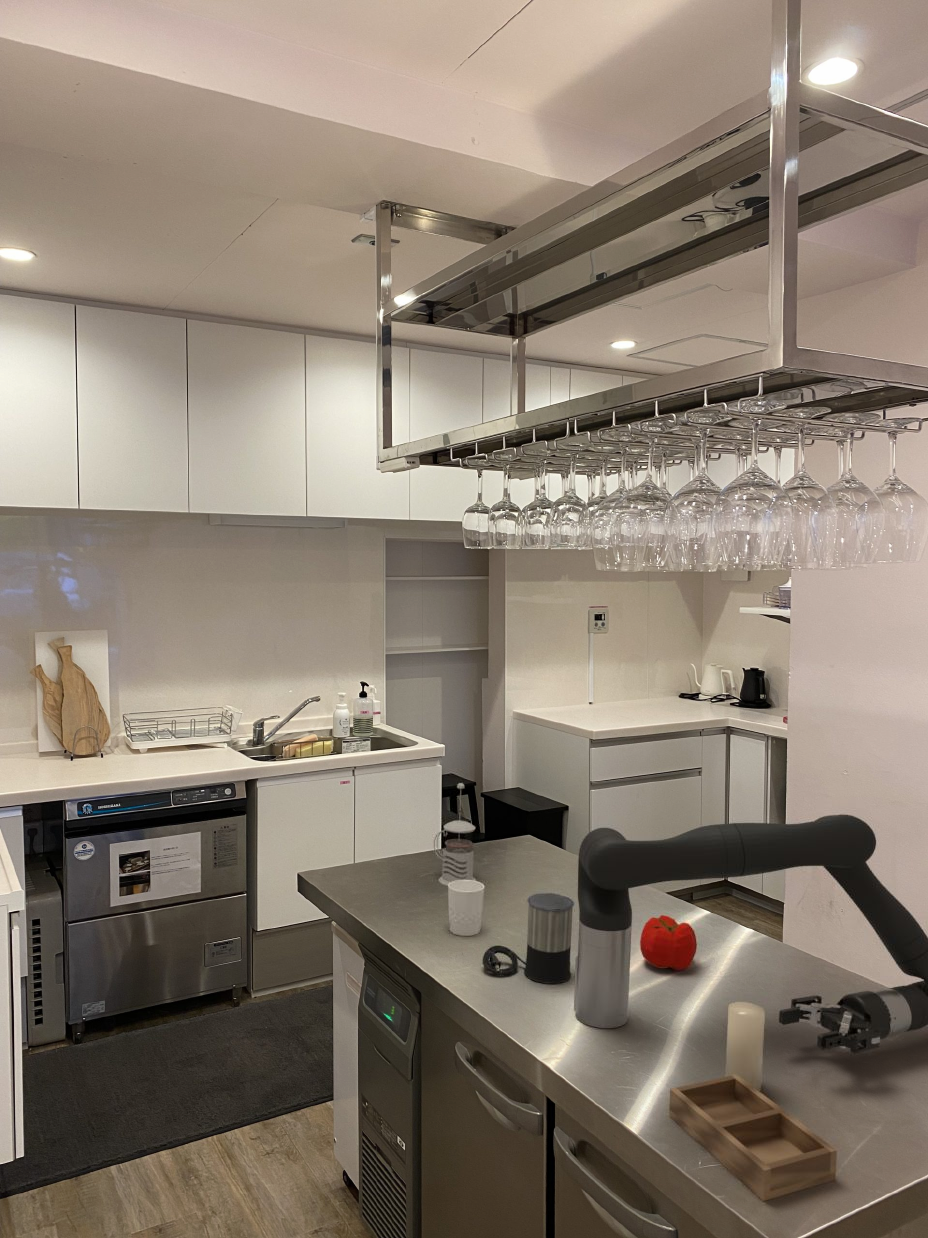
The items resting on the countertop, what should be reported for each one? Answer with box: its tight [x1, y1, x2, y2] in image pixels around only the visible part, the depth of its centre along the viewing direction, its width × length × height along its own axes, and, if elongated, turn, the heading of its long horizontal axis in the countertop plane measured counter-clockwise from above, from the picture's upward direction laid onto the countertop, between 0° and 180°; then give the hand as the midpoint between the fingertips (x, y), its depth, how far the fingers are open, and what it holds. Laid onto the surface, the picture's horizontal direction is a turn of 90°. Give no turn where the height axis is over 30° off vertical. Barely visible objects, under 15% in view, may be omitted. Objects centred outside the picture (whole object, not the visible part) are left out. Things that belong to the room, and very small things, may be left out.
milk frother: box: [482, 892, 575, 985], centre depth 185 cm, size 14×16×15 cm
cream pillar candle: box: [724, 1001, 766, 1093], centre depth 147 cm, size 5×5×12 cm
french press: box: [433, 782, 477, 887], centre depth 240 cm, size 10×12×25 cm
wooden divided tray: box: [668, 1074, 838, 1202], centre depth 131 cm, size 20×12×4 cm, turn 23°
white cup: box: [447, 880, 485, 937], centre depth 206 cm, size 8×8×10 cm
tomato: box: [639, 914, 698, 971], centre depth 192 cm, size 11×12×9 cm
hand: (799, 1030), depth 151 cm, fingers open, 8 cm apart
